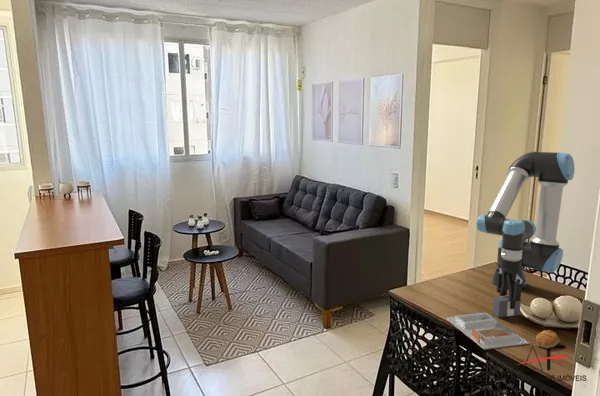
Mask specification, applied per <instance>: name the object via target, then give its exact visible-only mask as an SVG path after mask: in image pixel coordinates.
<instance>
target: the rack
mask: <svg viewBox="0 0 600 396" xmlns="http://www.w3.org/2000/svg"><path fill="white" fill-rule="evenodd" d="M445 320H447V321H448V322H450V323H451V324H452V325H453V326H454V327H455V328H457V329H458V330H460V332H462V333H463V334H464V335H465V336H466V337H468V338H469V339H471V340H472V341H473V342H474V343H476V344H477V345H478V346H479V347H480V348H482V349H483V350H484V351H485V350H491V349H499V348H509V347H514V346H522V345H529V344H530V343H529V341H528V340H526V339H525V338H523V337H521V336H520V335H519V334H518V333H517V332H515V331H514V330H513V329H511V328H509V327H508V326H505V325H503V324H502V323H501V322H499V321H498V320H497V319H496V318H494V317H493V316H491V315H490V314H489V313H488V312H480V313H478V312H477V313H468V314H460V315H454V316H447V317H445Z"/></svg>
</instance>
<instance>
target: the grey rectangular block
mask: <svg viewBox="0 0 600 396" xmlns="http://www.w3.org/2000/svg"><path fill="white" fill-rule="evenodd" d="M506 296H507V297H499V296H497V297H493V302H492V303H493V304H492V315H494V316H495V317H497V318H505V317H506V318H507V317H508V316H507V305H508V300H509V295H506ZM521 302H522V298H520V301H517V302H515V309H514V315H513V316H512V317H515V316H520V314H521V305H522V303H521Z"/></svg>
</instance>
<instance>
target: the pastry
mask: <svg viewBox="0 0 600 396" xmlns="http://www.w3.org/2000/svg"><path fill="white" fill-rule="evenodd" d="M560 341H561V340H560V338H559V336H558V335H557V333H556V332H554V331H553V330H550V329H548V330H546V329H545V330H542V331H541V332H539V333H538V334H537V335H536V336H535V344H536V346H537V347H539V348H540V347H541V348H544V349H546V350H547V349H550V348H555V347H556V346H557V345H558V344H559V343H560Z"/></svg>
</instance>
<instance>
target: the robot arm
mask: <svg viewBox="0 0 600 396" xmlns="http://www.w3.org/2000/svg"><path fill="white" fill-rule="evenodd" d="M506 175H507V176H506V177H505V179H504V181H503V183H502V185H501V187H500V189H499V191H498V193H497V195H496V197H495V198H494V200H493V203H492V204H491V206H490V207H489V210H488V211H487V213H486V214H480V215H479V216H478V217H477V219H476V225H475V226H476V228H477V229H476V230H478V232H482V233H485V234H491V235H496V236H501V238H500V239H499V242H498V246H497V259H496V261H497V262H496V267H495V270H494V271H493V274H492V276H491V283H492V284H493V285H495V286H496V293H498V294H499V296H500V297H507V296H509V300H508V305H507V317H514V316H513V315H514V309H515V302H517V301H520V299H522V298H521V297H522V290H523V289H525V288H526V287H527V280H526V276H525V272H524V268H528V269H534V270H537V271H542V272H547V273H554V272H556V271H557V270H558V269H559V267H560V265H561V263H562V259H563V257H564V250H563V248H561V247H560V242H559V241H558V240H557V234H558V227H559V219H560V212H561V206H562V199H563V198H562V197H563V192H564V191H563V189H564V187H566V186H567V185H568V182H569V181H572V180H573V179H574V175H575V162H574V159H573V156H572V155H571V154H570V153H565V152H559V151H558V152H553V151H552V152H551V151H550V152H548V151H547V152H546V151H545V152H544V151H531V152H527V153H524V154H522V155H521V156H519V157H518V158H517V159H515V160H514V161H513V162H512V163H511V165H510V166H509V167H508V169H507V171H506ZM530 178H537V182H538V184H540V193H539V200H538V208H537V213H536V223H534V222H533V221H532V220H530V219H522V220H520V219H510V218H507V216H508V214H509V213H510V211H511V209H512V207H513V205H514V203H515V201H516V199H517V198H518V195H519V194H520V191H521V189H522V187H523V185H524V183H526V182H528V181H529V179H530ZM533 236H534V237H533ZM528 239H530V240H529V242H528V241H527V240H528Z"/></svg>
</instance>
